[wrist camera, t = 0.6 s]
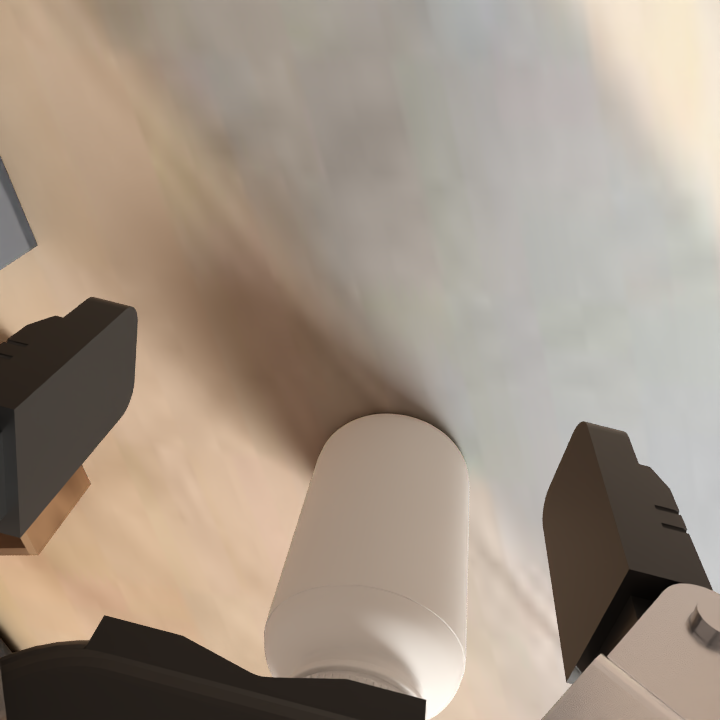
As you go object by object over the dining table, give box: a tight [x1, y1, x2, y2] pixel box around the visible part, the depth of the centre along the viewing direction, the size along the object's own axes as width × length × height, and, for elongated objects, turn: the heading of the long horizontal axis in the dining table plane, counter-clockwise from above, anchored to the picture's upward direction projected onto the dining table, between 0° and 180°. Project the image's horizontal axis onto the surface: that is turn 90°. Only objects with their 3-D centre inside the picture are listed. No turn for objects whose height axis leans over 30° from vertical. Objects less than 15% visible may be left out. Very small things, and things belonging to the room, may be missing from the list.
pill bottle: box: [264, 414, 470, 720], centre depth 29 cm, size 8×8×15 cm
